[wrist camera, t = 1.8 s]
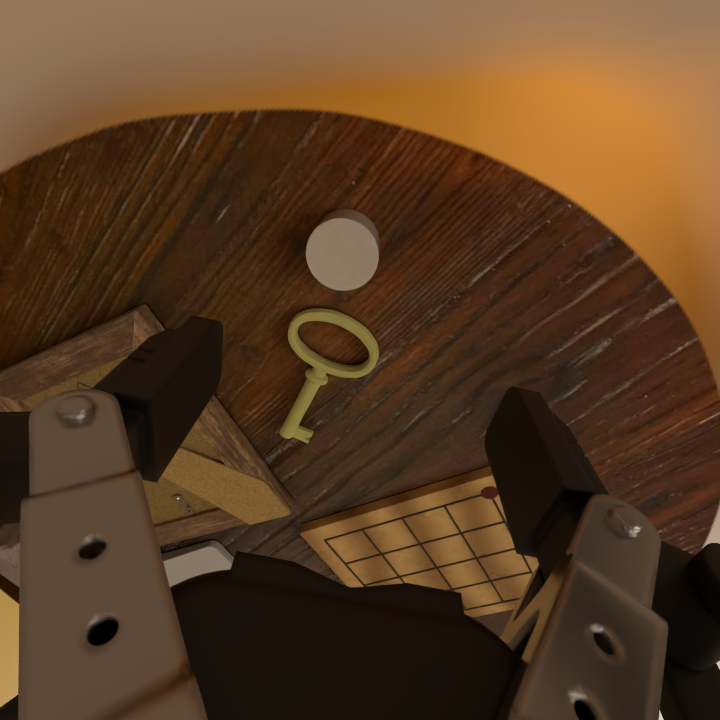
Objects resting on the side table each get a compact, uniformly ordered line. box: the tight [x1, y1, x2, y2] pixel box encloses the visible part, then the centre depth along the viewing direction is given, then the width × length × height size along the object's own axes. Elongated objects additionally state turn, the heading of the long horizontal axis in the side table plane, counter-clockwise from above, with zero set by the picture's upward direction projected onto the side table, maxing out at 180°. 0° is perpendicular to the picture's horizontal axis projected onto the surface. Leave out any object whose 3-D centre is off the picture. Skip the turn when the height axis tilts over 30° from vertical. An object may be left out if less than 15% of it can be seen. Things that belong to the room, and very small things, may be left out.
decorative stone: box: [0, 523, 20, 587], centre depth 44 cm, size 13×10×6 cm
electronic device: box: [161, 540, 234, 587], centre depth 53 cm, size 29×20×2 cm
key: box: [280, 308, 379, 443], centre depth 32 cm, size 7×12×2 cm, turn 171°
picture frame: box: [0, 304, 294, 546], centre depth 38 cm, size 19×2×24 cm
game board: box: [300, 466, 539, 617], centre depth 44 cm, size 22×22×1 cm
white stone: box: [306, 209, 380, 291], centre depth 26 cm, size 5×5×3 cm
